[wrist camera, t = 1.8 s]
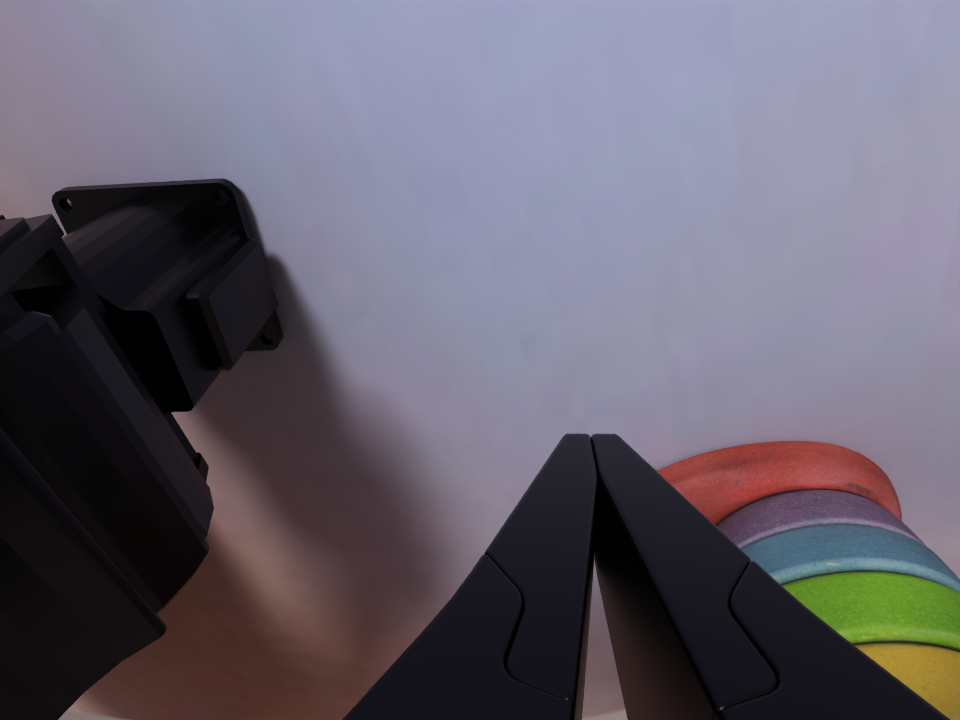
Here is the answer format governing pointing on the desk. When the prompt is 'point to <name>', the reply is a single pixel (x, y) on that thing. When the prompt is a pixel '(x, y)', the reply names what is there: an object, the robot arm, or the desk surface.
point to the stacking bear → (838, 552)
